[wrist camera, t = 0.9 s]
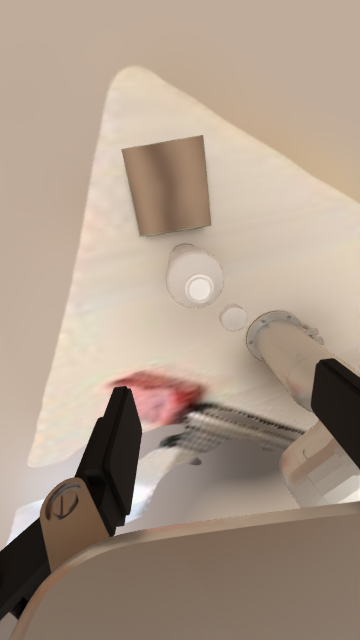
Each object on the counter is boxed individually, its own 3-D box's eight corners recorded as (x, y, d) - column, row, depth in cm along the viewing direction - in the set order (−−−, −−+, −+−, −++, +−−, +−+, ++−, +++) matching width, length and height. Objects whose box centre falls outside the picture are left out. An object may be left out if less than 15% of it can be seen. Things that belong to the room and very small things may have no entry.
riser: (197, 155, 35) (203, 134, 28) (204, 227, 40) (211, 225, 32) (132, 166, 36) (121, 148, 28) (145, 236, 40) (139, 236, 32)
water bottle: (162, 263, 42) (149, 296, 19) (183, 236, 40) (197, 236, 17) (195, 290, 44) (220, 350, 21) (216, 265, 42) (269, 301, 19)
